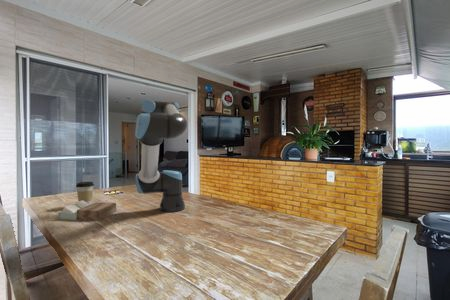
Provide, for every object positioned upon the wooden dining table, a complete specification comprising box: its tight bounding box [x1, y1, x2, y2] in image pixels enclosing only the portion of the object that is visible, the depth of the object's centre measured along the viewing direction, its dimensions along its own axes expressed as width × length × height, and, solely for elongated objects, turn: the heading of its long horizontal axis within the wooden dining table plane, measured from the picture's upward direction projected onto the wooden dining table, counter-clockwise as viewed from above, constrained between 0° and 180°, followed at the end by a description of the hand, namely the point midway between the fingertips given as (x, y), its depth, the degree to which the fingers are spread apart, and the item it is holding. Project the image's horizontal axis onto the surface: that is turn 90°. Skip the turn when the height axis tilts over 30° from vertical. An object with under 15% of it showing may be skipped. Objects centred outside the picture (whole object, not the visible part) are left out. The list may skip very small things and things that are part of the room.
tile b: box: [61, 203, 80, 213], centre depth 124 cm, size 6×6×3 cm
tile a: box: [74, 200, 89, 209], centre depth 132 cm, size 6×6×3 cm
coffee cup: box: [75, 181, 95, 205], centre depth 145 cm, size 10×10×15 cm
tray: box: [57, 211, 77, 221], centre depth 128 cm, size 10×17×4 cm, turn 175°
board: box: [76, 202, 117, 221], centre depth 127 cm, size 12×16×5 cm
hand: (147, 159), depth 151 cm, fingers closed
